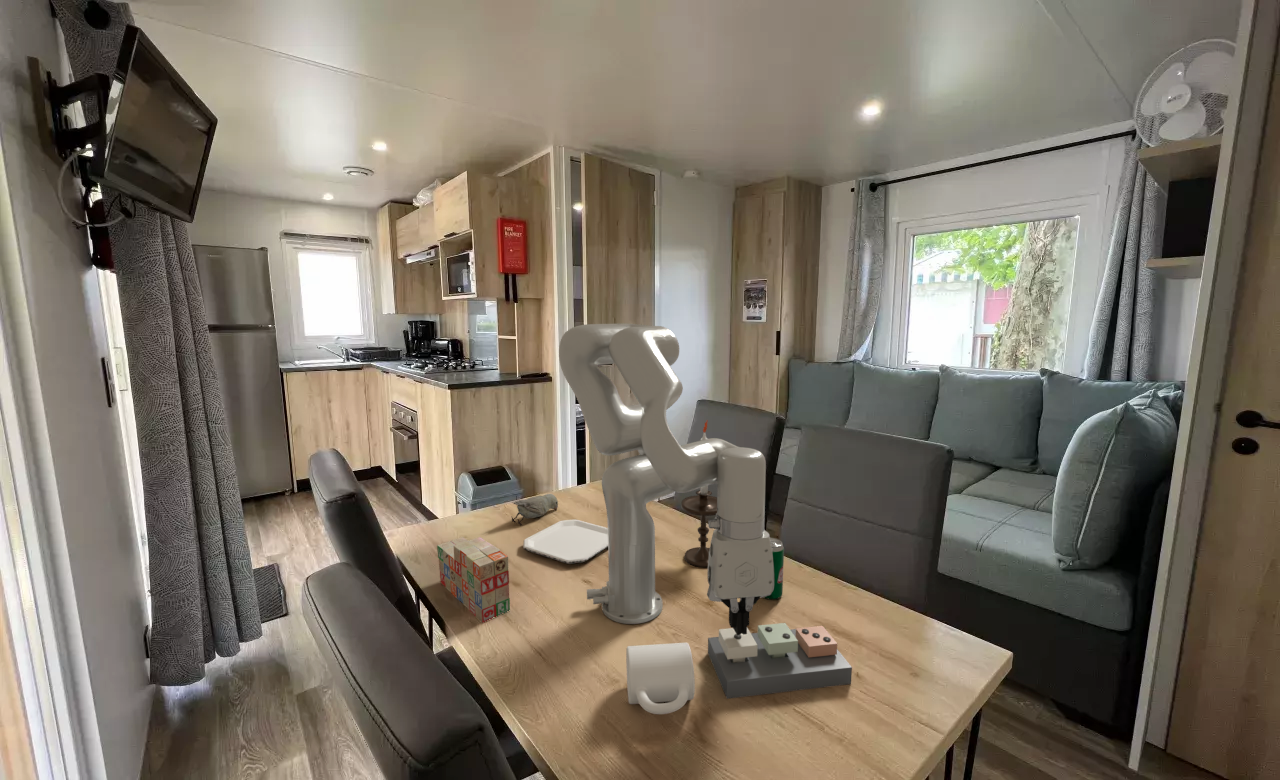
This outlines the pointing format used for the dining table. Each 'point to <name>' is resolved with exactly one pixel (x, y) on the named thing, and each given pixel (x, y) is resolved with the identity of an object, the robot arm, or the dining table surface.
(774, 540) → the soda can
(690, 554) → the candlestick
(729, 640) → the button one
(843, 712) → the dining table surface
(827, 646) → the button three
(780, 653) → the button two
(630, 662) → the mug
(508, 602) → the stack of blocks
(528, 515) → the decorative bird
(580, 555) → the plate
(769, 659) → the button panel
